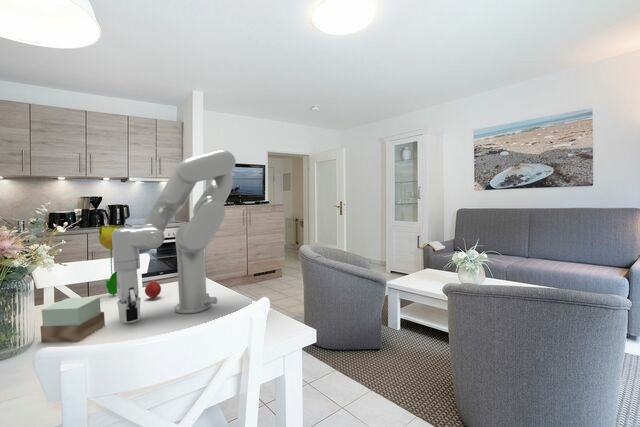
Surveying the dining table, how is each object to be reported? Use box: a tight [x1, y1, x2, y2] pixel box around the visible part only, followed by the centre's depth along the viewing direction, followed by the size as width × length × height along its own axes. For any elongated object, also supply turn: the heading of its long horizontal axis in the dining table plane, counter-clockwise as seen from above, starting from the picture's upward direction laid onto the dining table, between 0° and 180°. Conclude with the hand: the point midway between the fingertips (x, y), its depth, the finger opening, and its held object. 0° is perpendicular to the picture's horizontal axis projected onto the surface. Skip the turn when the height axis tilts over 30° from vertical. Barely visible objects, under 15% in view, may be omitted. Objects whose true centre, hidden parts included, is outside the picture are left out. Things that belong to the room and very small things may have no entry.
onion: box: [144, 279, 162, 300], centre depth 129 cm, size 6×6×8 cm
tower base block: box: [40, 311, 106, 343], centre depth 97 cm, size 11×11×5 cm
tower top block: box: [41, 296, 102, 326], centre depth 97 cm, size 10×10×5 cm
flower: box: [98, 224, 122, 297], centre depth 133 cm, size 9×8×30 cm
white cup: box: [116, 296, 141, 324], centre depth 107 cm, size 7×7×7 cm
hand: (130, 316), depth 107 cm, fingers closed on white cup, 6 cm apart
